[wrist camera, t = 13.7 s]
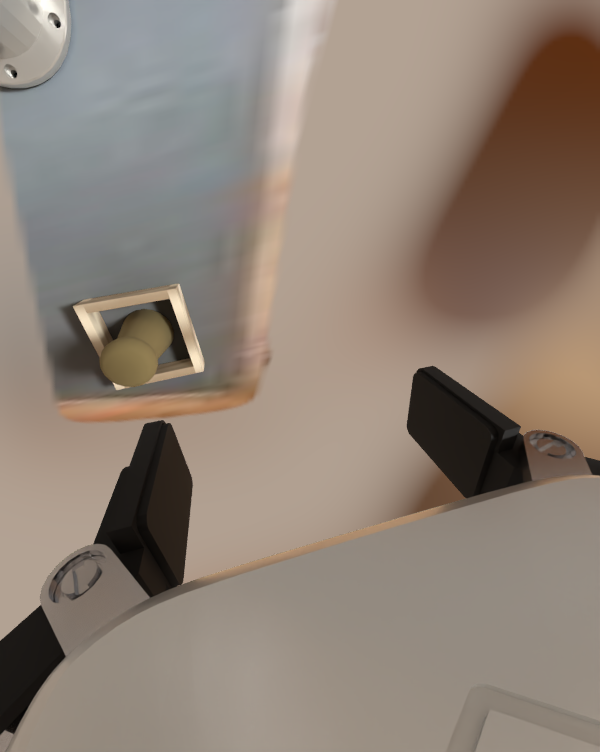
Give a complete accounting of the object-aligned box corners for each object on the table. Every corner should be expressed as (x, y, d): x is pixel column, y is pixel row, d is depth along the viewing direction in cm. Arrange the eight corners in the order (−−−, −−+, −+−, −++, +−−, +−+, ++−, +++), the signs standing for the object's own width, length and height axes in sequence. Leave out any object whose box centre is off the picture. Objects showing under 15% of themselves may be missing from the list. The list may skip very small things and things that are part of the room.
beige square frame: (83, 299, 34) (72, 306, 32) (178, 283, 36) (175, 288, 33) (123, 379, 40) (116, 390, 37) (204, 361, 41) (203, 371, 39)
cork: (120, 347, 38) (87, 390, 29) (125, 303, 36) (90, 333, 26) (170, 357, 40) (154, 400, 31) (177, 316, 38) (163, 348, 28)
